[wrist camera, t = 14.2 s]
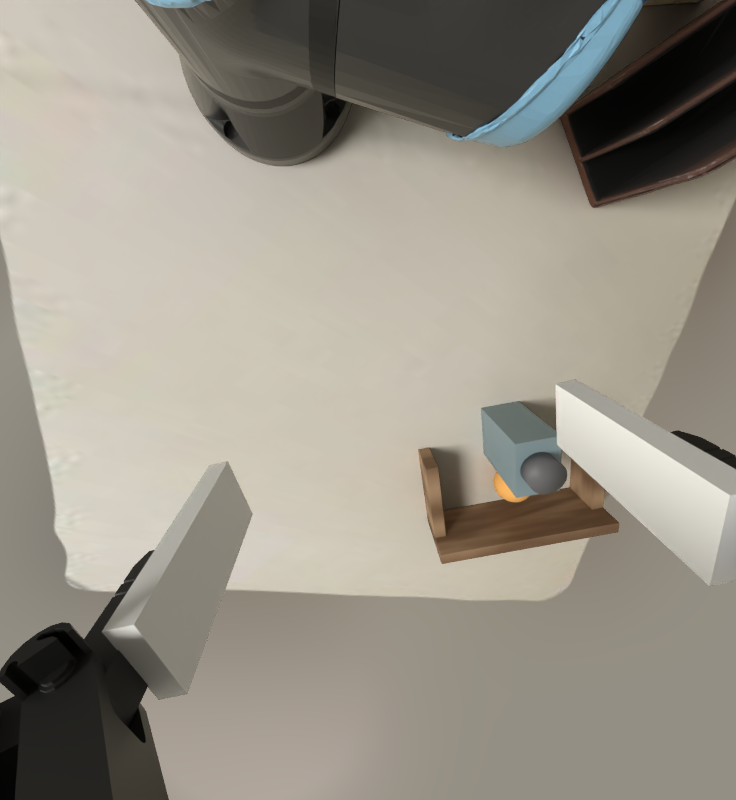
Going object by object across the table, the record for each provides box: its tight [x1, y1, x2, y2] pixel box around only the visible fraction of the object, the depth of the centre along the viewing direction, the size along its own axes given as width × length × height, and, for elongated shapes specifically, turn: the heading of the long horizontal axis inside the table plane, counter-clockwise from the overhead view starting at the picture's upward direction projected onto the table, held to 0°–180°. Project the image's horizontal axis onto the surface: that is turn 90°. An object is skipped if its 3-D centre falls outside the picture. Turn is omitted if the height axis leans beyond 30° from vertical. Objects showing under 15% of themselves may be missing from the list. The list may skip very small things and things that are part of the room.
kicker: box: [481, 401, 567, 498], centre depth 42 cm, size 7×5×12 cm
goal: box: [418, 448, 619, 564], centre depth 46 cm, size 12×23×8 cm, turn 100°
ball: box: [494, 472, 529, 502], centre depth 48 cm, size 5×5×5 cm
